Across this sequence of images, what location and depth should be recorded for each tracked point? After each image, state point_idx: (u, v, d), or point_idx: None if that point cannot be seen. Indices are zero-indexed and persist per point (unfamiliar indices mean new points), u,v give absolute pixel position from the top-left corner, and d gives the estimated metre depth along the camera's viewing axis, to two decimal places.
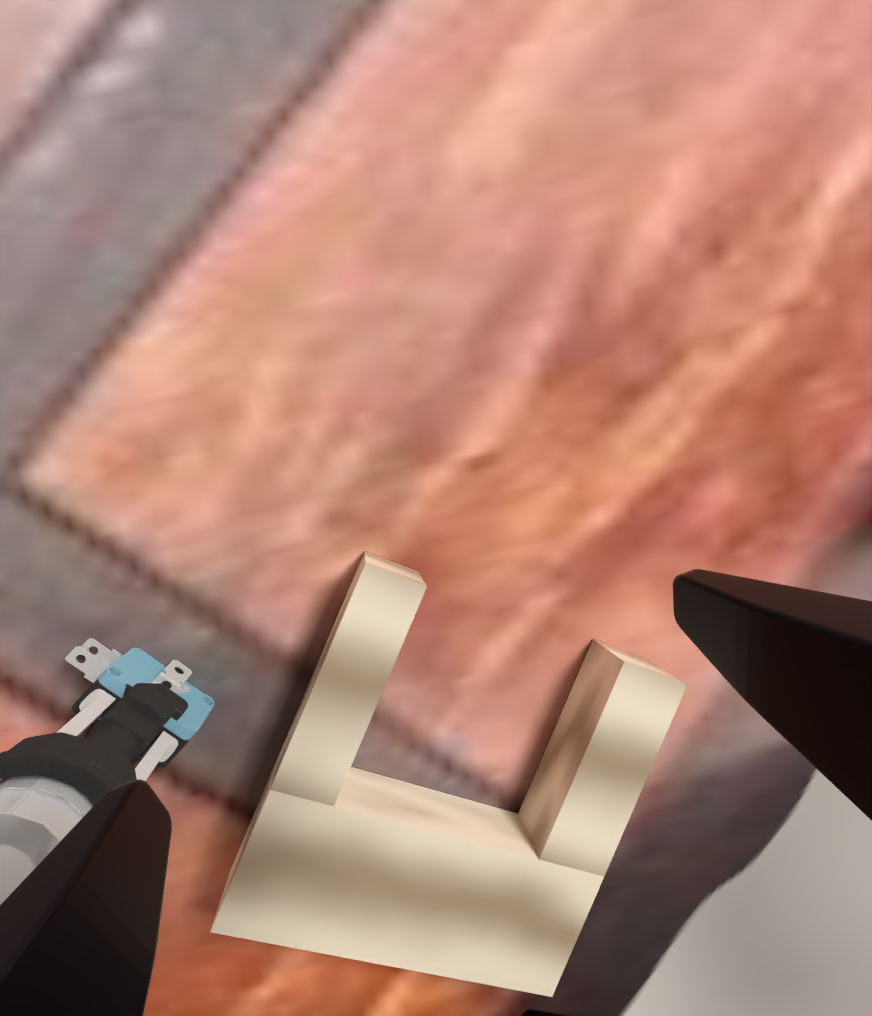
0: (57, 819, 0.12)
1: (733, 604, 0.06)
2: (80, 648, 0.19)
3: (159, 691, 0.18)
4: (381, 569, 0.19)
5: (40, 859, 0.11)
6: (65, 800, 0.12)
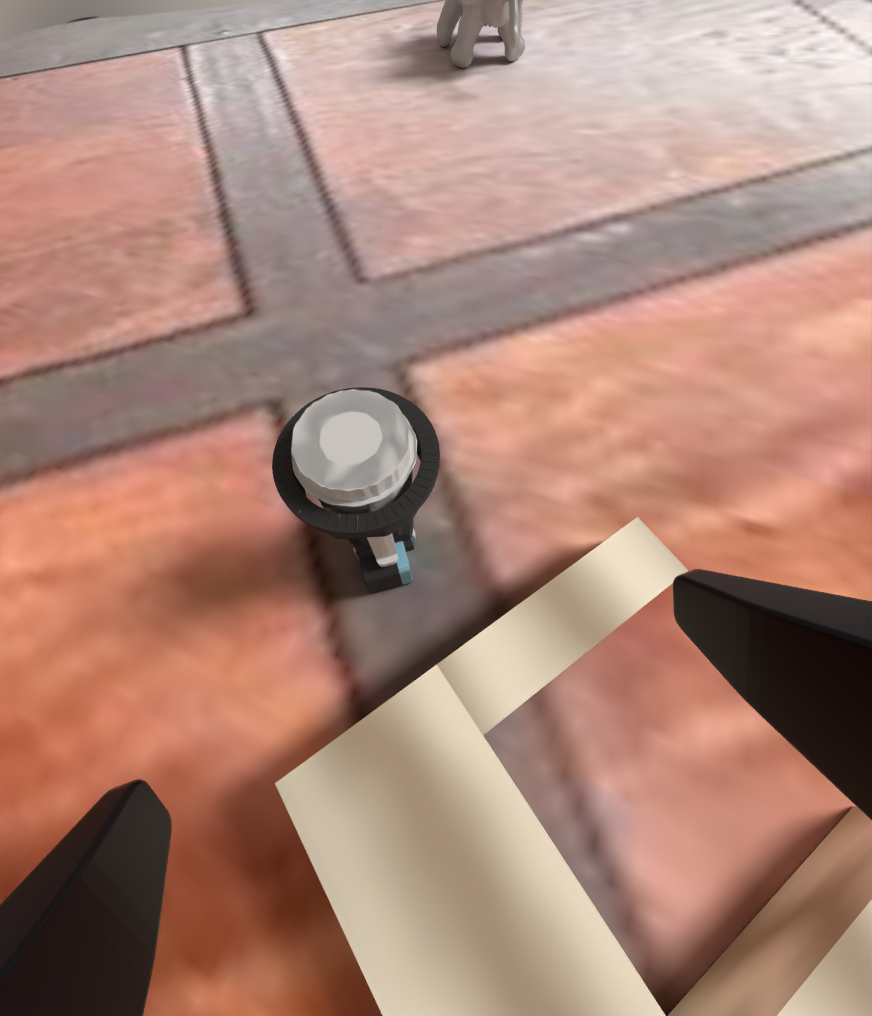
0: (409, 436, 0.13)
1: (733, 604, 0.06)
2: None
3: None
4: (649, 531, 0.19)
5: (386, 446, 0.13)
6: (413, 437, 0.14)
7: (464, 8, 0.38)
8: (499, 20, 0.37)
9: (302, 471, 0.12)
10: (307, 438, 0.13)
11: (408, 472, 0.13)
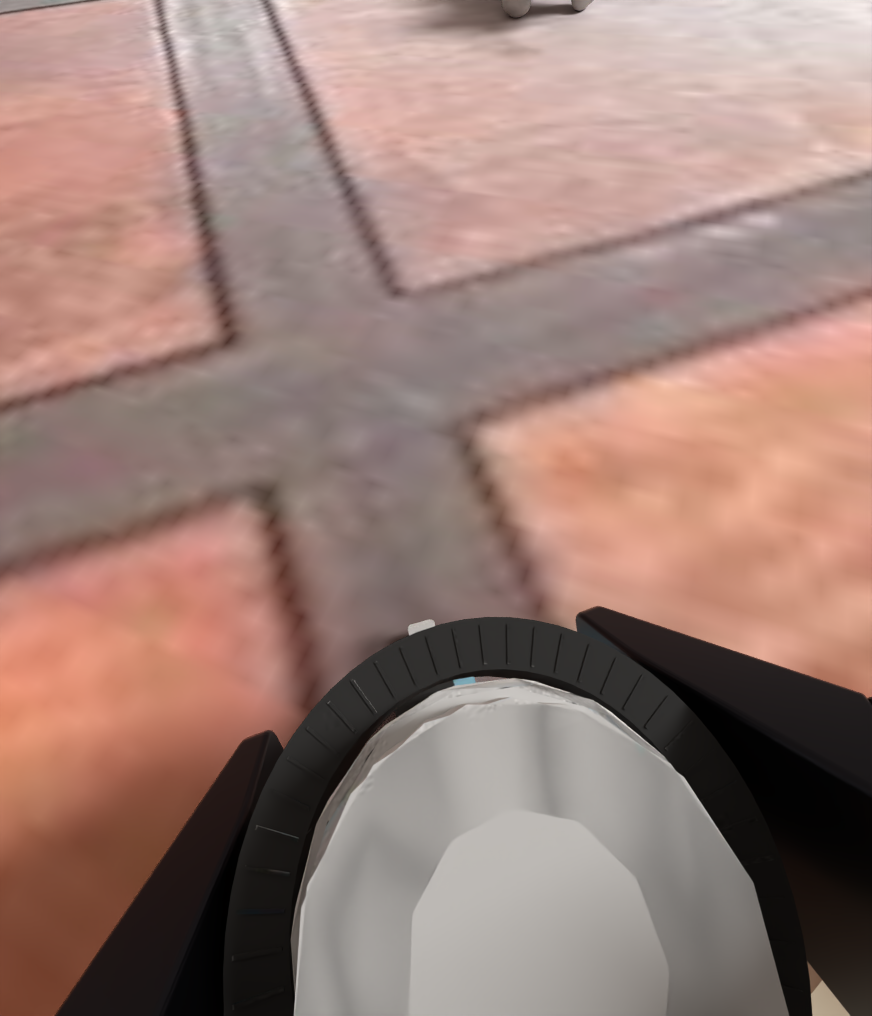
0: None
1: (619, 649, 0.06)
2: (434, 625, 0.12)
3: None
4: None
5: None
6: None
7: None
8: None
9: None
10: (361, 971, 0.03)
11: None
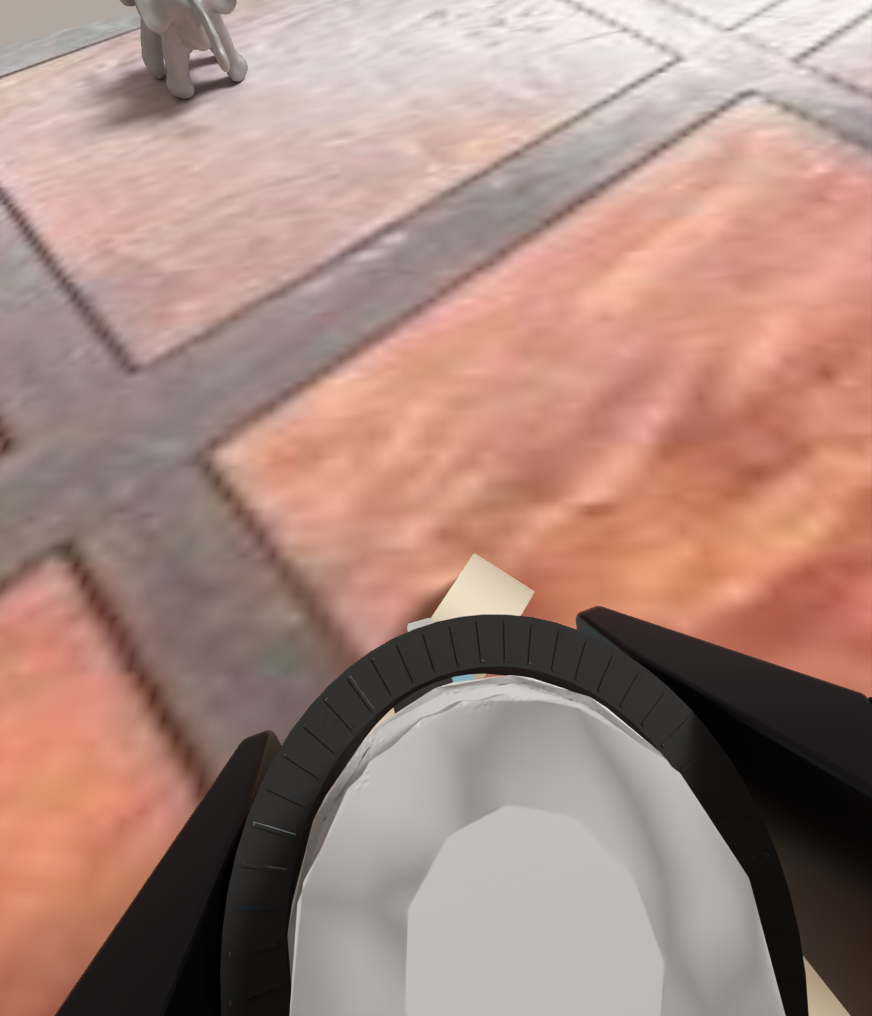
0: None
1: (619, 649, 0.06)
2: (434, 623, 0.12)
3: None
4: (489, 563, 0.19)
5: (686, 1013, 0.03)
6: None
7: (161, 36, 0.35)
8: (203, 43, 0.34)
9: None
10: (355, 965, 0.03)
11: None
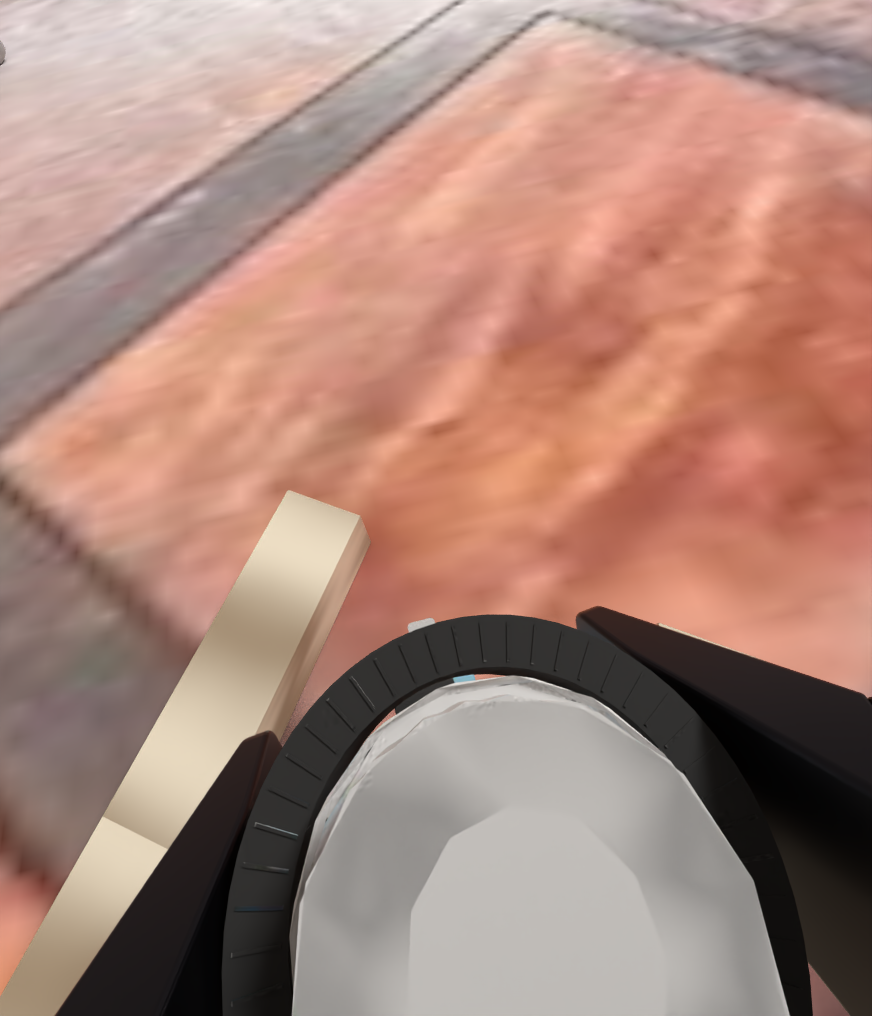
0: None
1: (619, 649, 0.06)
2: None
3: None
4: (306, 497, 0.16)
5: None
6: None
7: None
8: None
9: None
10: (358, 967, 0.03)
11: None
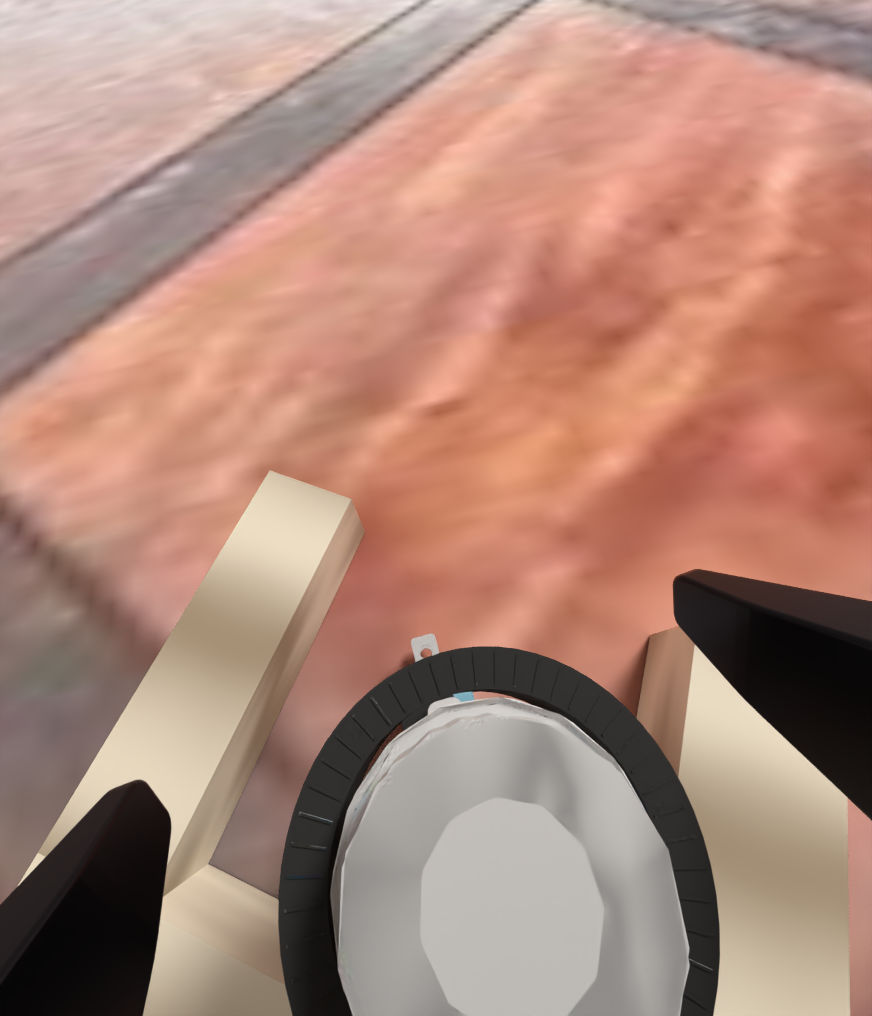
0: None
1: (733, 604, 0.06)
2: (435, 638, 0.14)
3: None
4: (291, 479, 0.14)
5: (619, 944, 0.04)
6: None
7: None
8: None
9: None
10: (385, 911, 0.04)
11: None
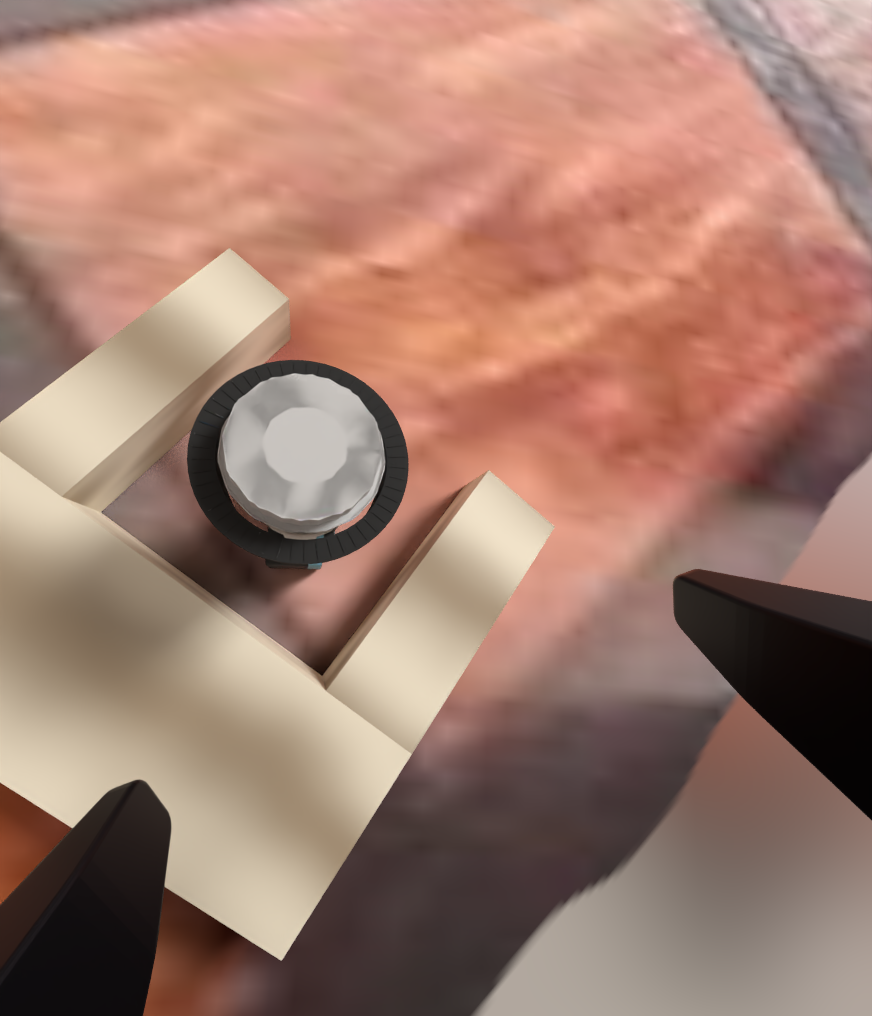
0: None
1: (733, 604, 0.06)
2: None
3: None
4: (245, 263, 0.18)
5: (346, 473, 0.10)
6: (381, 463, 0.11)
7: None
8: None
9: (229, 470, 0.09)
10: (249, 425, 0.10)
11: (361, 507, 0.11)
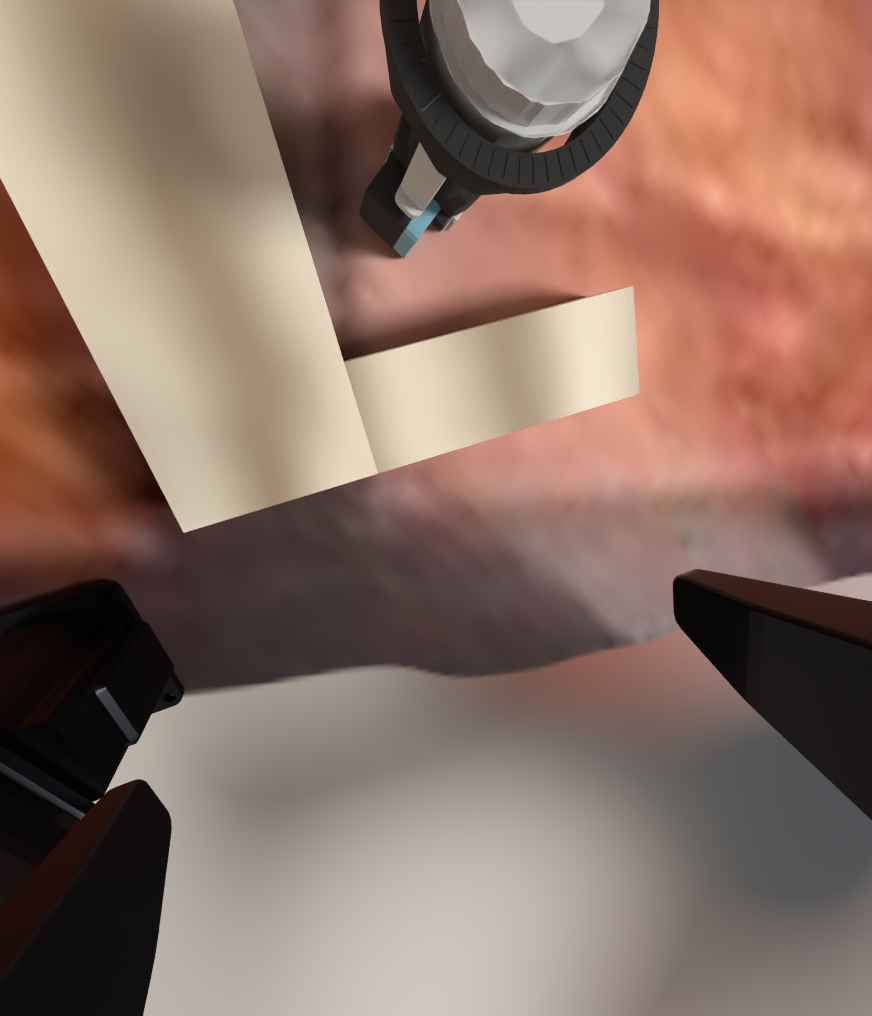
0: (601, 89, 0.08)
1: (733, 604, 0.06)
2: None
3: None
4: None
5: (570, 55, 0.07)
6: (599, 100, 0.08)
7: None
8: None
9: None
10: None
11: (543, 133, 0.08)
